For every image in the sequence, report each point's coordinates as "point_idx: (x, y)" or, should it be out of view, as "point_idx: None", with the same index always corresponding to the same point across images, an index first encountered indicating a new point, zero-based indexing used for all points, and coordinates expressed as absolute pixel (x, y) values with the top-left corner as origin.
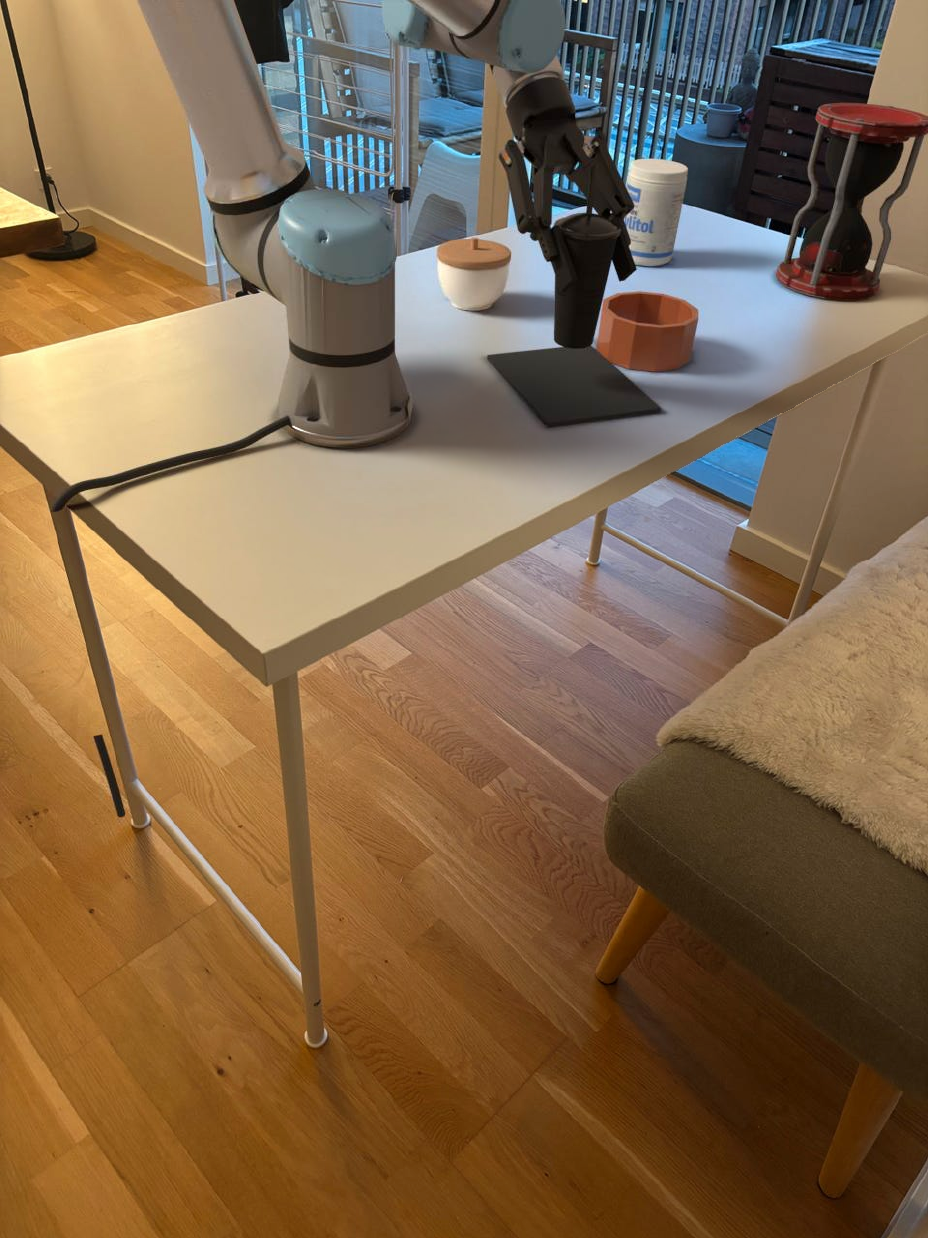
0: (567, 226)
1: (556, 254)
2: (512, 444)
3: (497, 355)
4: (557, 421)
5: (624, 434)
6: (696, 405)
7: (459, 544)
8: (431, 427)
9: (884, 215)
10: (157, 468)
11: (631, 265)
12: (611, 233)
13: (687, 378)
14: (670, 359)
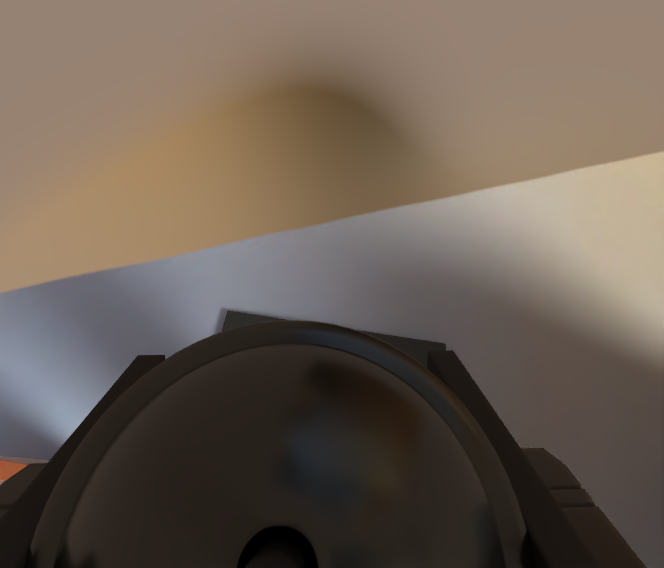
0: (485, 531)
1: (522, 449)
2: (521, 322)
3: None
4: (427, 342)
5: (335, 279)
6: (151, 310)
7: (650, 164)
8: (647, 431)
9: None
10: None
11: (149, 366)
12: (245, 334)
13: (64, 410)
14: (48, 461)
